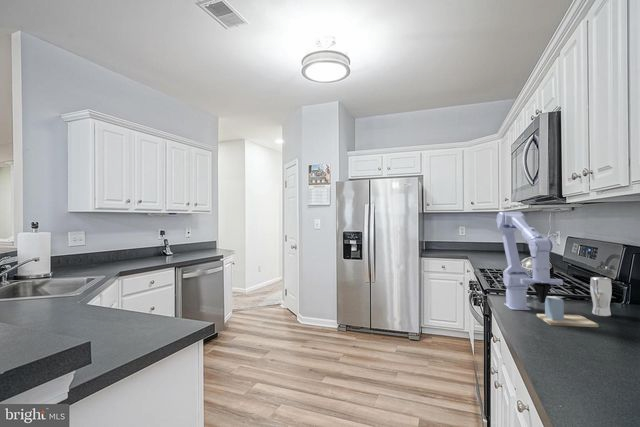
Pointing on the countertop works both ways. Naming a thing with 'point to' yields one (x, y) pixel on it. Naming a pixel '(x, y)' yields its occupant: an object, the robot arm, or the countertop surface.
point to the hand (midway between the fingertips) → (541, 302)
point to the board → (569, 321)
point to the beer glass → (601, 295)
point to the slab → (554, 308)
